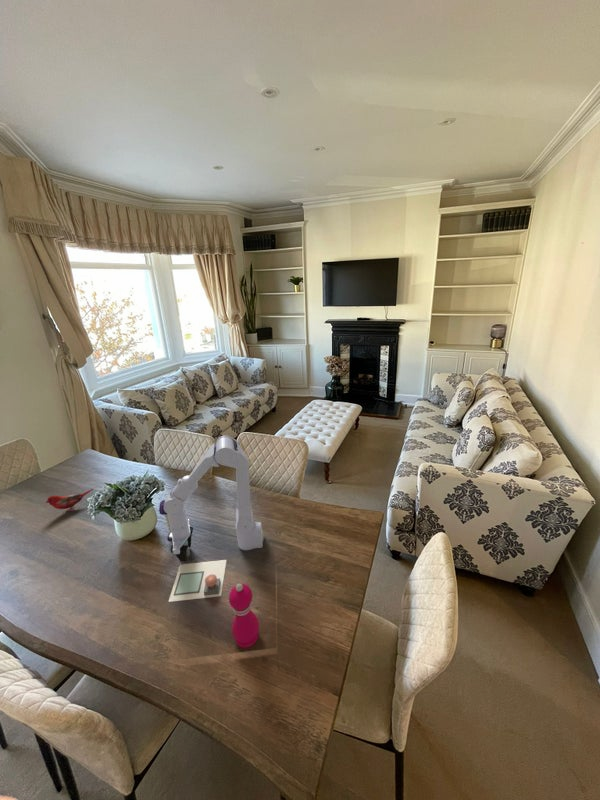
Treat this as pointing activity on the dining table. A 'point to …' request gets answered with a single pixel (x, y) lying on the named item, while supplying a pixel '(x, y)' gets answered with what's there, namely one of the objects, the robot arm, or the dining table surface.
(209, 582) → the button
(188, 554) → the salt shaker
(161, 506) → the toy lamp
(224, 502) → the dining table surface
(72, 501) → the decorative bird figurine
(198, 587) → the board
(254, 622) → the pepper mill
